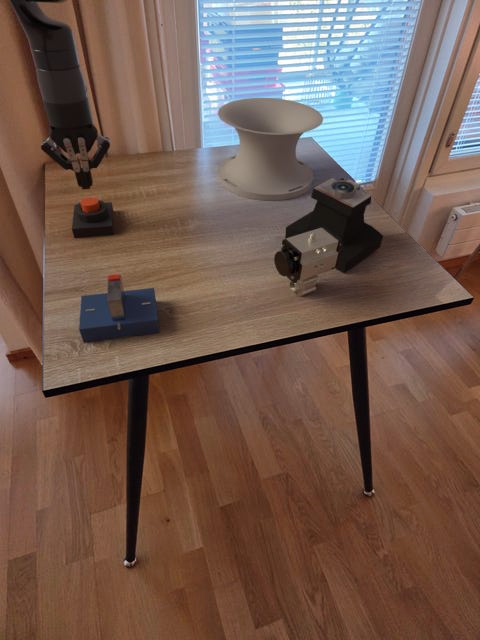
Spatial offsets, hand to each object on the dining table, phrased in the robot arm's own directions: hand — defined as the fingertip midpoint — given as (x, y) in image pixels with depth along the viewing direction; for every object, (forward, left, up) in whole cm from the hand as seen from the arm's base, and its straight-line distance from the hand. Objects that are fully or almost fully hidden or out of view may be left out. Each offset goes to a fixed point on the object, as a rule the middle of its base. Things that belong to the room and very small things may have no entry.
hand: (86, 187), depth 85 cm
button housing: (0, 0, -8) cm, 8 cm away
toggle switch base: (+5, -32, -9) cm, 33 cm away
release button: (0, 0, -5) cm, 5 cm away
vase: (+43, +16, -9) cm, 47 cm away
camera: (+50, -16, -9) cm, 53 cm away
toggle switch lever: (+5, -32, -5) cm, 32 cm away
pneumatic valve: (+38, -30, -9) cm, 49 cm away
